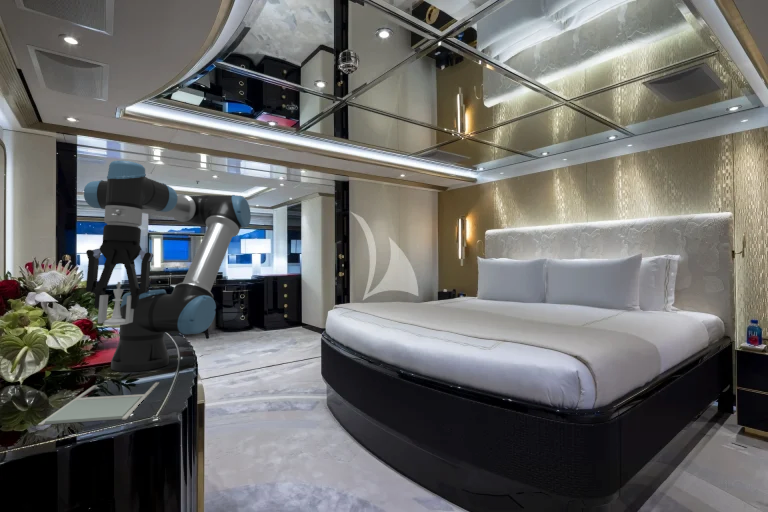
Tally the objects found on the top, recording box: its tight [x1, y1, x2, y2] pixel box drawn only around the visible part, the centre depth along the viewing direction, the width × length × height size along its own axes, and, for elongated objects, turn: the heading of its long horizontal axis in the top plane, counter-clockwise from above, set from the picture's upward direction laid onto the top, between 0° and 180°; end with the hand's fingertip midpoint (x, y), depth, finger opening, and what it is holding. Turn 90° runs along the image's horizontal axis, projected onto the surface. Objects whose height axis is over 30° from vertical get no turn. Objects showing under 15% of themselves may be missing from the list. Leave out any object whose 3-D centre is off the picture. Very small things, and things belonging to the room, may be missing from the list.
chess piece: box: [102, 281, 128, 326], centre depth 93 cm, size 5×5×10 cm
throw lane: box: [37, 381, 160, 427], centre depth 88 cm, size 25×15×1 cm, turn 17°
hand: (115, 322), depth 92 cm, fingers closed on chess piece, 5 cm apart
